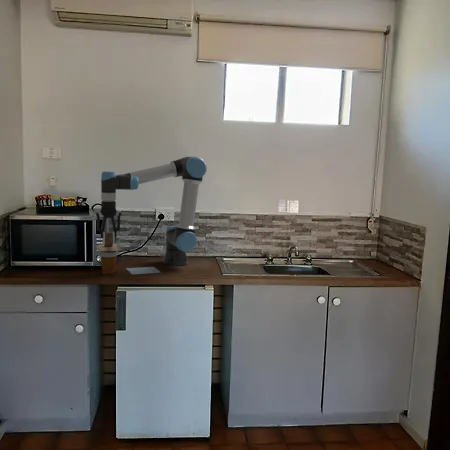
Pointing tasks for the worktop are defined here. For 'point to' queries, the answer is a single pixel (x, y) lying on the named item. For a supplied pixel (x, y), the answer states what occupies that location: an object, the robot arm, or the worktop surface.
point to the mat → (143, 270)
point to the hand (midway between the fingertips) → (108, 243)
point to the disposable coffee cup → (108, 261)
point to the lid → (108, 244)
